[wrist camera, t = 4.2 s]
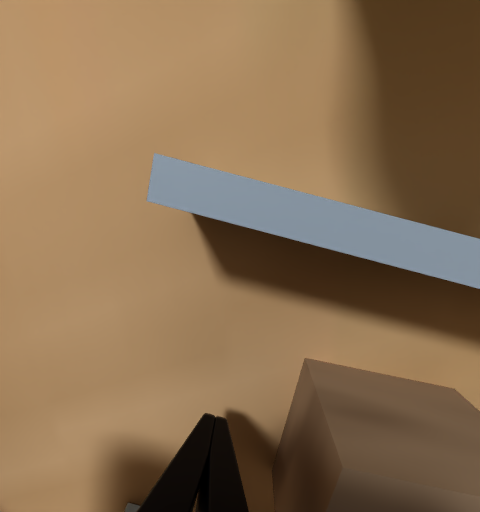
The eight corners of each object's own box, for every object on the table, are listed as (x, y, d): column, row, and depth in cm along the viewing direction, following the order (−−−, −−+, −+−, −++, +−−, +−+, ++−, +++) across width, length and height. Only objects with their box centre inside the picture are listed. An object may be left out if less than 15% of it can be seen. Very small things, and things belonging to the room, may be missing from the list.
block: (399, 492, 10) (489, 669, 6) (271, 465, 10) (282, 622, 6) (450, 385, 9) (605, 523, 5) (303, 355, 9) (342, 467, 5)
